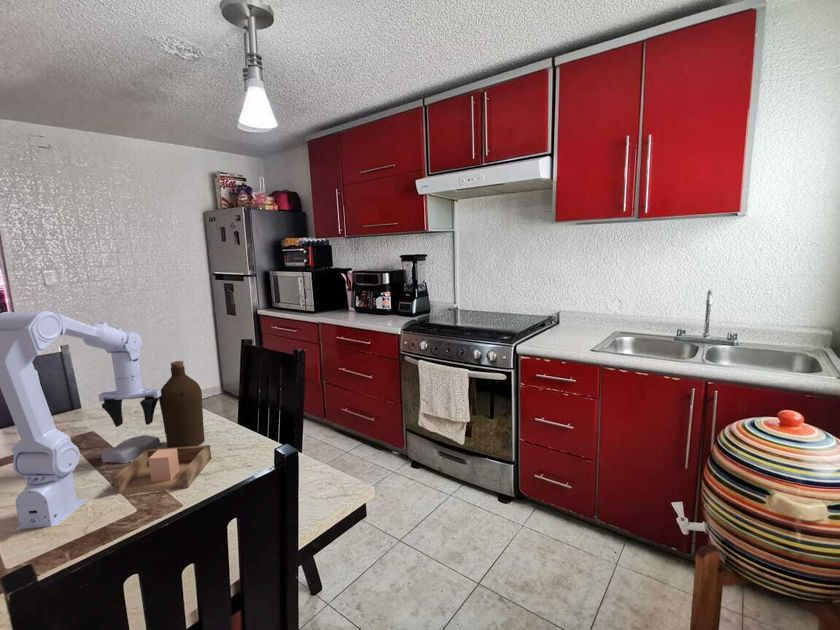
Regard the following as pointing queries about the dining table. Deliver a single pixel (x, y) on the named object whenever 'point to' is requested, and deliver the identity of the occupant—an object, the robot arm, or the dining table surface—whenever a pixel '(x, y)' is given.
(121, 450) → the stone block
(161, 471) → the block
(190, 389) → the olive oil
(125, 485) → the box
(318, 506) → the dining table surface
